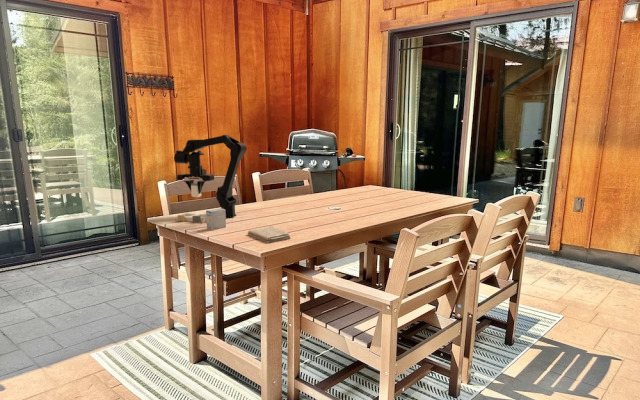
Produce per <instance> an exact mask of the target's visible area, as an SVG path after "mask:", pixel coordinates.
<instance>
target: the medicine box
mask: <svg viewBox="0 0 640 400" xmlns="http://www.w3.org/2000/svg"><path fill="white" fill-rule="evenodd" d="M205 213H206V221H205V222H206V229H207V230H211V231H214V230H218V229H223V228H227V218H226V211H225V209H222V208H221V207H219V208H217V207H216V208H213V209H212V208H211V209H207V210H206V211H205Z"/></svg>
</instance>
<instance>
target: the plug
mask: <svg viewBox="0 0 640 400" xmlns="http://www.w3.org/2000/svg"><path fill="white" fill-rule="evenodd" d="M190 192H191V193H190V194H191V197H192V198H199V197H202V192H201V193H200V194H199V192H198V184H197V182H193V183H191V190H190Z"/></svg>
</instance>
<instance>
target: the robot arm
mask: <svg viewBox="0 0 640 400" xmlns="http://www.w3.org/2000/svg"><path fill="white" fill-rule="evenodd" d="M220 144H224V145H225V146H226V148H227V149H229V150H230V151H229V154H230V161H229V164H228V167H227V170H226V173H225V177H224V179H223V184H222V185H221V186H218V187H217V188H216V189H217V190H216V192H215V195H216V196H215V199H216V200H217V202H218V204H219V206H220V208H222V209H225V211H226V219H228V218H229V219H232V218H234V217H237V214H236V205H235V204H237V198H235V197H234V196H233V192H234V191H233V184H234V181H235V178H236V174H237V172H238V168H239V166H240V165H239V164H240V162H241V160H242V159H243V158H244V156H245V154H246V152H247V149H248V148H247V145H246V144H245V143H244V142H240V141H239V140H237V139H235V138H233V137H232V136H230V135H229V134H222V135H219V136H214V137H210V138H205V139H199V138H198V139H189V140H187V141H186V144H185V146H184V148H183V150H175V154H174V157H173V160H174V163H175V164H181V165H183V164H184V165H185V164H188V165H187V169H189V170H188V171H189V173H179V174H177V175H176V181H183V182H184V183H185V184H186V185H187V187H188V189H189V191H191V183H195V180H197V182H196V183H197V184H198V192H199V194H200V193H201V194H202V190H203V187H204V184H205V182H211V181H214V180H215V175H214V174H209V173H208V174H207V170H206V169H204V168H203V165H202V163H201V156H204V154H205V153H203V152H202V151H201V150H202V149H205V148H207V147H211V146H215V145H220Z"/></svg>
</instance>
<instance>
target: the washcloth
mask: <svg viewBox="0 0 640 400" xmlns="http://www.w3.org/2000/svg"><path fill="white" fill-rule="evenodd" d="M247 235H248V236H251V237H253V238H255V239H258V240H260V241H262V242H265V243H268V244H269V243H275V242H281V241H287V240H290V239H291V235H290V233H289V232H286V231H285V229H281V228H278V227H275V226H267V227H262V228H258V229H257V228H256V229H250V230H248V231H247Z"/></svg>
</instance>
